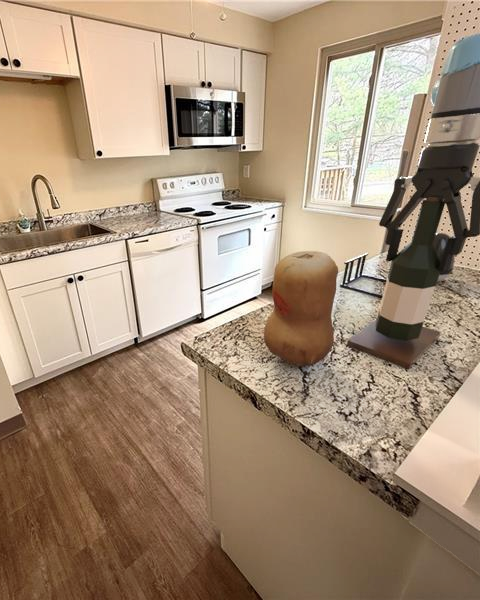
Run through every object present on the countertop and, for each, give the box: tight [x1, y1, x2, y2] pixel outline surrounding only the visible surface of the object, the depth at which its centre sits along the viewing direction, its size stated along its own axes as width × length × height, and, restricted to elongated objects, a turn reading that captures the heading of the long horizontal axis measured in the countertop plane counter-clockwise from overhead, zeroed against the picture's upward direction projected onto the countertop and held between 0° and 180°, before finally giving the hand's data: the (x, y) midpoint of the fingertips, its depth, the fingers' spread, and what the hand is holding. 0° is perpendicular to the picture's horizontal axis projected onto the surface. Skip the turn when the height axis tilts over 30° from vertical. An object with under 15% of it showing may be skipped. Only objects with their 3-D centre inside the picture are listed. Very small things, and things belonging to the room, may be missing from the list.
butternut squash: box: [263, 250, 339, 367], centre depth 65 cm, size 14×13×25 cm
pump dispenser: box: [433, 232, 456, 283], centre depth 97 cm, size 10×10×15 cm
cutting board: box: [346, 318, 442, 370], centre depth 72 cm, size 18×12×2 cm, turn 125°
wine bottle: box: [375, 197, 446, 341], centre depth 65 cm, size 8×8×30 cm
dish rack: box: [339, 252, 387, 299], centre depth 98 cm, size 14×14×8 cm
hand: (415, 264), depth 65 cm, fingers closed on wine bottle, 8 cm apart
